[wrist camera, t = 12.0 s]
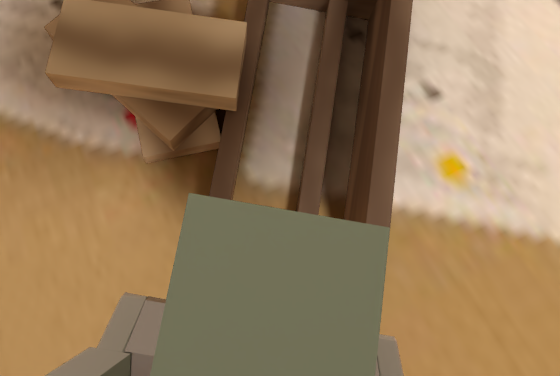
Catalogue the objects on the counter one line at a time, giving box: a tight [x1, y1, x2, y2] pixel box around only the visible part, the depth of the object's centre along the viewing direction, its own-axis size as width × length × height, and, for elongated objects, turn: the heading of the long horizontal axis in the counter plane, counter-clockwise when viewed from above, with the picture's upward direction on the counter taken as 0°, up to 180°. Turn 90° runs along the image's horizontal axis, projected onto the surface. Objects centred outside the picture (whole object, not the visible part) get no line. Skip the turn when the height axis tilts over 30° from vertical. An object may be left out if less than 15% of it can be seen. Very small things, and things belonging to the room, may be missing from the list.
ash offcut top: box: [45, 0, 247, 111], centre depth 36 cm, size 6×13×2 cm, turn 84°
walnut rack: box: [209, 0, 413, 233], centre depth 37 cm, size 12×22×8 cm, turn 171°
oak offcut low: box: [135, 0, 221, 163], centre depth 41 cm, size 6×13×2 cm, turn 14°
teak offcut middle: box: [44, 0, 217, 151], centre depth 38 cm, size 6×13×2 cm, turn 48°
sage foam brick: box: [150, 193, 390, 376], centre depth 14 cm, size 3×5×16 cm, turn 171°
